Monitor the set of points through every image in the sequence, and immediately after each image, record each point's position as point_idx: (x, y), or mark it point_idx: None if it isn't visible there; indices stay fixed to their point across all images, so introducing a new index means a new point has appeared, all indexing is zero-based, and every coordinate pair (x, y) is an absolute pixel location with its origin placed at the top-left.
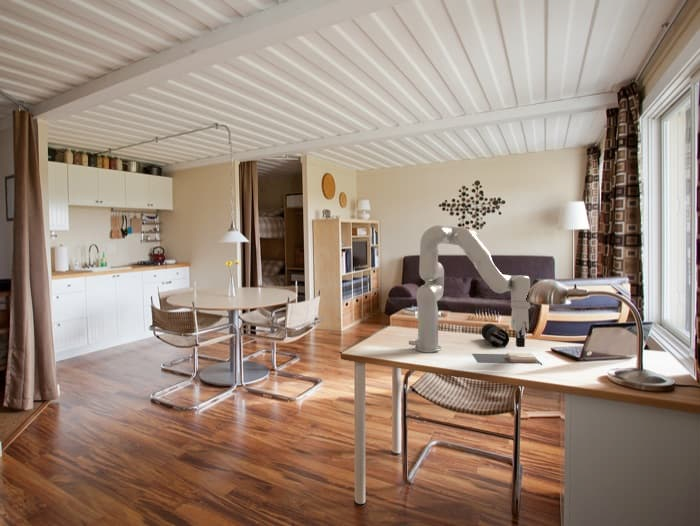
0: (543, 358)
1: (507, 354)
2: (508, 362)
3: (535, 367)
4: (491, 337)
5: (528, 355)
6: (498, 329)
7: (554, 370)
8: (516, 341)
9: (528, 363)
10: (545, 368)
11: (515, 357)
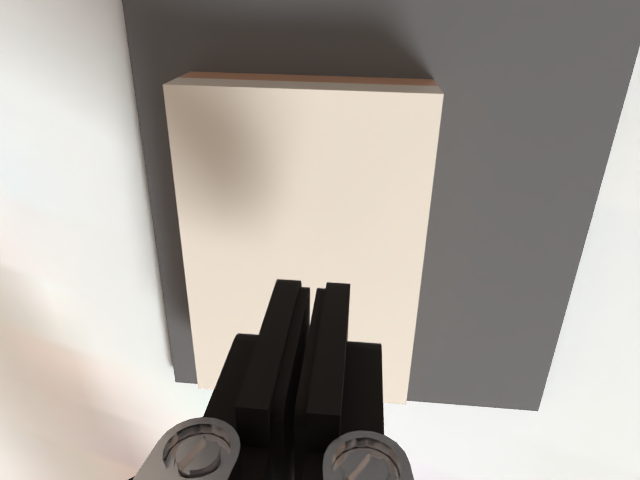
0: (415, 461)
1: (394, 87)
2: (152, 20)
3: (74, 287)
4: None
5: None
6: None
7: (24, 401)
8: (322, 340)
9: (159, 262)
10: (65, 358)
11: (174, 149)
